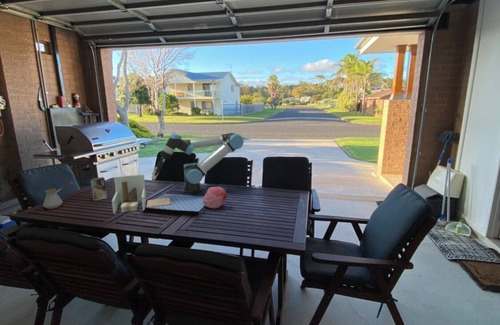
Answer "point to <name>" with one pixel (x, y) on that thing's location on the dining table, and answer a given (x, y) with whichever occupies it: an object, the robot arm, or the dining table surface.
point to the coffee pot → (53, 198)
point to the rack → (129, 189)
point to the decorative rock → (214, 197)
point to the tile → (158, 202)
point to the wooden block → (131, 195)
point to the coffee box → (98, 188)
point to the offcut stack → (129, 206)
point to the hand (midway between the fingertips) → (153, 177)
